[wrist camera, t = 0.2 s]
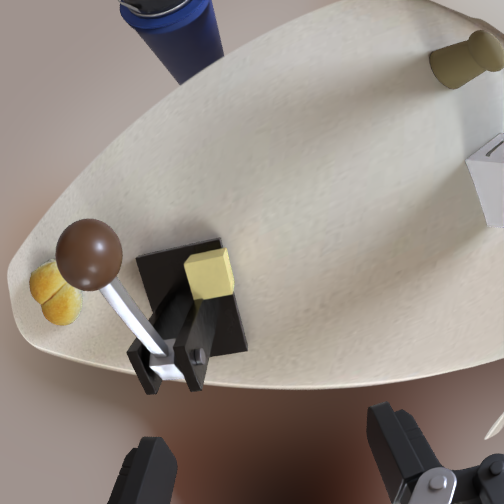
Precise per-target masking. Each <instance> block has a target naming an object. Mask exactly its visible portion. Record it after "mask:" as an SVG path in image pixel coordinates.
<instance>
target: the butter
mask: <svg viewBox="0 0 504 504" xmlns="http://www.w3.org/2000/svg"><path fill="white" fill-rule="evenodd" d="M184 267H185V271H186V274H187V278H188V281H189V285H190V288H191V292H192V295H193V298H194V300H195V299H201V298H203V299H210V298H215V297H220V296H226V295H231V294H233V289H234V283H235V281H234V277H233V273H232V269H231V265H230V261H229V257H228V252H227V248H222V249H217V250H212V251H207V252H203V253H198V254H193V255H190V257H189V258H188V259H187V260H186V262H185V263H184Z"/></svg>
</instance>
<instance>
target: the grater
mask: <svg viewBox="0 0 504 504" xmlns="http://www.w3.org/2000/svg"><path fill="white" fill-rule="evenodd" d="M502 140H504V133H500V134H498V135H497V136H496V137H495V138H493V139H492V140H491V141H490V142H488V143H487V144H486V145H484V146H483V147H482V148H481V149H479V150H478V151H477V152H475V153H474V154H473V155H471V156H470V157H469V158H467V159H466V160H465V162H466V164H467V167H468V169H469V172H470V174H471V177H472V180H473V182H474V185H475V188H476V191H477V194H478V197H479V200H480V203H481V206H482V209H483V212H484V216H485V219H486V223H487V226H488V227H498V228H504V143H502V144H501V145H500V146H499V147H498V148H497V149H495V150H494V151H493V152H492V153H491V154H490V157H488V156H486V154H487V153H488V152H489V151H490V150H491V149H493V148H494V147H495V146H496V145H498V144H499V143H500V142H501V141H502Z"/></svg>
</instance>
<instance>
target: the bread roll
mask: <svg viewBox="0 0 504 504" xmlns="http://www.w3.org/2000/svg"><path fill="white" fill-rule="evenodd" d="M29 284H30V291H31V294H32V296H33V297H34V299H35V300H36V301H37V302H38V303H40V304H41V307H42V312H43V314H44V316H45V318H46V319H47V320H48V321H50V322H51V323H53V324H56V325H68V324H71V323H73V322H74V321H75V320H76V319H77V318H78V316H79V314H80V312H81V308H82V293H81V290H79V289H76V288H74V287H72V286H71V285H70V284H68V283H67V282H66V281H65V280H64V278H63V277H62V276H61V274H60V272H59V270H58V267H57V264H56V260H54V259H50V260H48V261H47V262H45V263H44V264H42V265H41V266H40V267H38V269H36V270H35V271H33V272H32V273H31V277H30V281H29Z"/></svg>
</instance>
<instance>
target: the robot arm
mask: <svg viewBox="0 0 504 504" xmlns="http://www.w3.org/2000/svg"><path fill="white" fill-rule="evenodd" d="M118 1H119V0H118ZM123 1H124V2H125V3H124V2H121V1H119V2H120V3H121V4H122V5H124V6H126V7H128V9H129V10H130V11H131V13H132V14H134V15H135V16H137V17H139V18H143V19H157V18H162V17H166V16H169V15H171V14H174V13H176V12H178V11H180V10H181V9H183V8H184V7H186V6H187V5H188V4H189V3H190V2H191V1H192V0H123ZM366 432H367V439H368V443H369V445H370V448H371V451H372V453H373V456H374V458H375V461H376V463H377V466H378V468H379V471H380V473H381V476H382V479H383V482H384V484H385V487H386V490H387V492H388V495H389V498H390V501H391V503H392V504H400V503H401V504H504V454H493V455H490V456H488V457H487V458H485V459H484V460H483V461H482V463H481V464H480V465H478V466H475V467H471V468H467V469H463V470H450V469H447V468H445V467H443V466H442V465H441V464H440V463H439V461H438V459H437V458H436V456H435V454H434V452H433V451H432V449H431V447H430V445H429V444H428V442H427V440H426V438H425V437H424V435H423V434H422V431H421V430H420V428H418V425H417V423H416V421H415V420H414V418H413V416H412V415H410V414H409V413H407V412H406V411H404V410H399V411H396V412H394V411H393V409H392V408H391V406H390V404H389V403H388V402H387V401H386V402H383V403H380V404H377V405H373V406H370V407H368V413H367V431H366ZM176 474H177V461H176V458H175V456H174V455H173V453H172V452H171V450H170V449H169V447H168V446H167V444H166V443H165V441H164V440H163V438H161V437H143V438H142V439H141V441H140V443H139V446H138V448H133V449H132V450H131V451H130V452H129V453H128V454H127V455H126V457H125V459H124V462H123V464H122V468H121V470H120V472H119V475H118V477H117V480H116V483H115V485H114V488H113V490H112V493H111V496H110V498H109V501H108V503H107V504H170V501H171V497H172V492H173V487H174V483H175V478H176Z"/></svg>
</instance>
